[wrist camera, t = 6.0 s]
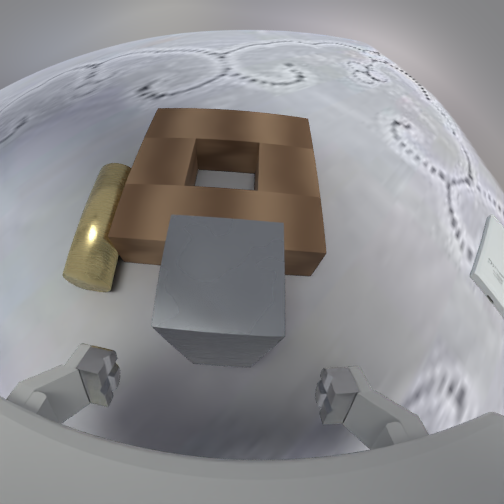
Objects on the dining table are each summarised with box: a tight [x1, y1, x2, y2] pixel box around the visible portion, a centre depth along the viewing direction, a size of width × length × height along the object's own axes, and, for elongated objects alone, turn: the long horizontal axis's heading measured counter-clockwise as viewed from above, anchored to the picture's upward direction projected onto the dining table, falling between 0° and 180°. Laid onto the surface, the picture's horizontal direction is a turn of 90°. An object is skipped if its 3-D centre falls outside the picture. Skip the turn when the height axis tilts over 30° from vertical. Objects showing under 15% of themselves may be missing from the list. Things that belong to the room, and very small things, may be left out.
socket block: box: [108, 108, 326, 276], centre depth 24 cm, size 15×15×4 cm
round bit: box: [63, 163, 131, 292], centre depth 21 cm, size 10×4×4 cm
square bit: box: [151, 215, 285, 367], centre depth 14 cm, size 4×4×12 cm
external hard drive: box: [470, 214, 504, 319], centre depth 25 cm, size 2×8×12 cm
